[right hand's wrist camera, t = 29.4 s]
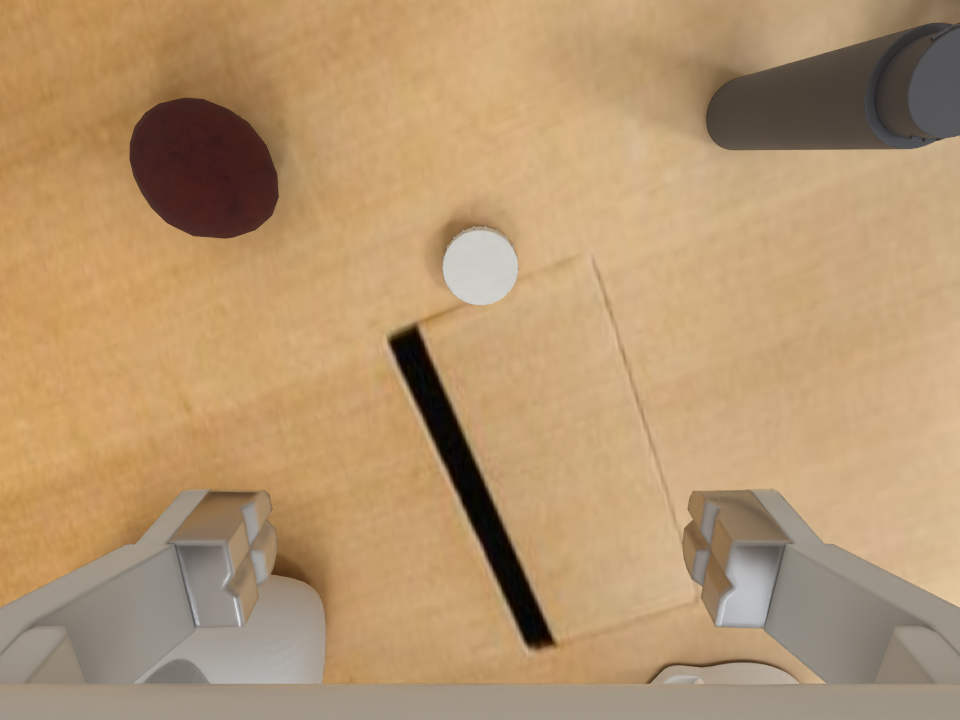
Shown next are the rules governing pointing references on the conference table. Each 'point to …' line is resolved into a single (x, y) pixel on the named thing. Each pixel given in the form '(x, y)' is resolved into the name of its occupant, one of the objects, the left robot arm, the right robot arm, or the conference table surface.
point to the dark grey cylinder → (848, 97)
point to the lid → (480, 265)
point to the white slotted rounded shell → (255, 643)
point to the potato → (203, 168)
